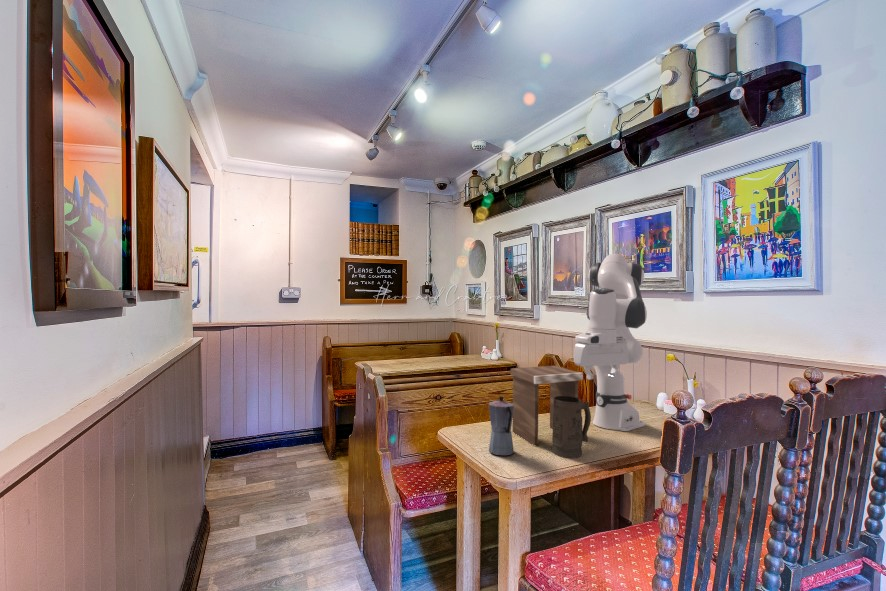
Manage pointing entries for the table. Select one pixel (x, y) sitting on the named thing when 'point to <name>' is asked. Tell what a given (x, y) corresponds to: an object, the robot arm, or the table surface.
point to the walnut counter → (528, 395)
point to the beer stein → (569, 426)
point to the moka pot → (501, 427)
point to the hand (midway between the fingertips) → (601, 378)
